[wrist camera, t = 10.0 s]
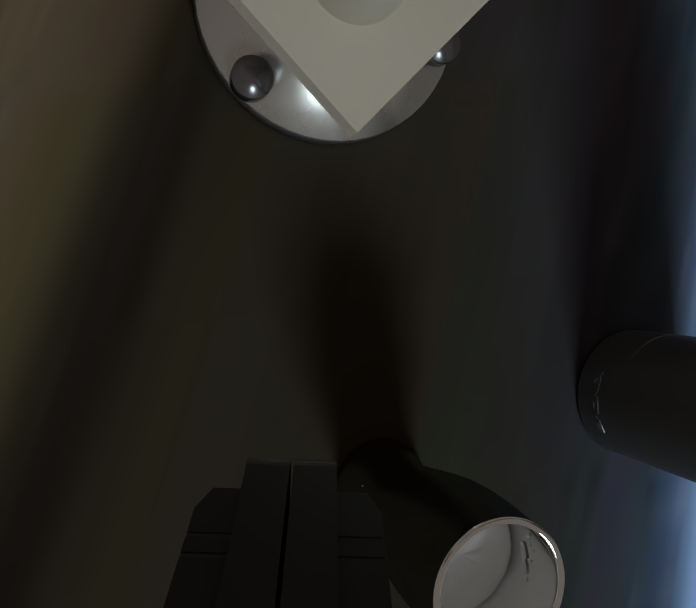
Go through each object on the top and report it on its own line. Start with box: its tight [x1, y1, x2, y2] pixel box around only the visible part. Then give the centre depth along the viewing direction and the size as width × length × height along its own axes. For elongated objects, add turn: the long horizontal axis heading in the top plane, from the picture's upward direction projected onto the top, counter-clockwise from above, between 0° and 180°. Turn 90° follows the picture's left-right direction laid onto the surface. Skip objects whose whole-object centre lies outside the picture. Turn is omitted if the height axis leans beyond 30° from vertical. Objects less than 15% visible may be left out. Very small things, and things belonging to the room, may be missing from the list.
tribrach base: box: [193, 0, 460, 145], centre depth 38 cm, size 16×16×4 cm
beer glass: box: [337, 440, 564, 608], centre depth 35 cm, size 7×7×15 cm
